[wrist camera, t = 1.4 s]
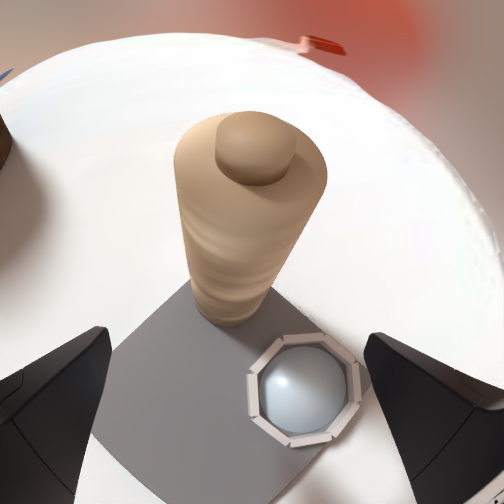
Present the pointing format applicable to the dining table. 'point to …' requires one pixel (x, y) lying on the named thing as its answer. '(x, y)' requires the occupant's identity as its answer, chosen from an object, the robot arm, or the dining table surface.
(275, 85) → the dining table surface
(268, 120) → the beige wooden pepper mill
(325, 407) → the baseplate
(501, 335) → the dining table surface
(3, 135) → the wooden container
